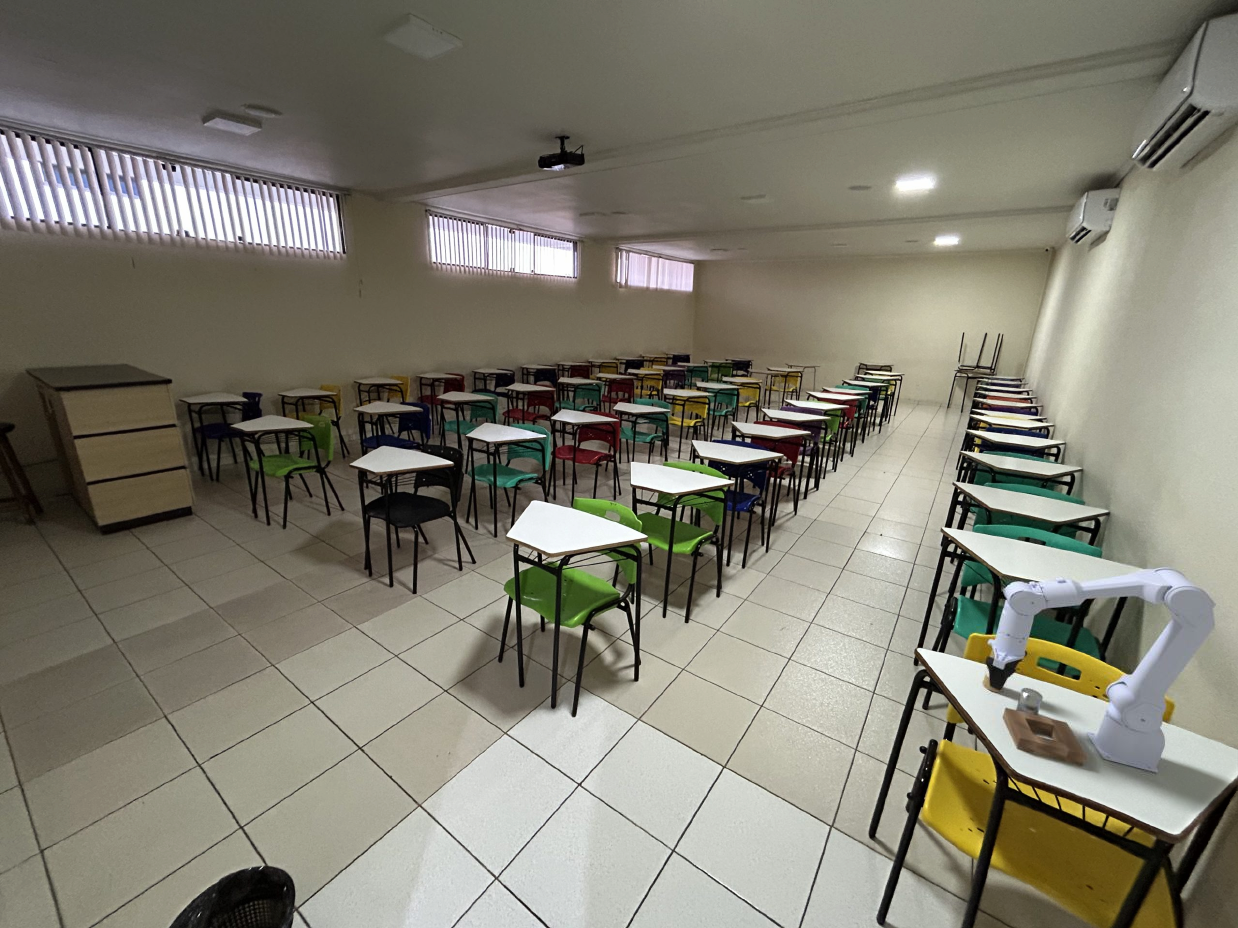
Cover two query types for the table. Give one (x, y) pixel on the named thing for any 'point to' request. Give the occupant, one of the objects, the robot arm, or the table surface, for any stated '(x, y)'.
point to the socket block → (1058, 748)
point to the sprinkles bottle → (986, 678)
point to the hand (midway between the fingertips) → (1000, 680)
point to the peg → (1029, 701)
